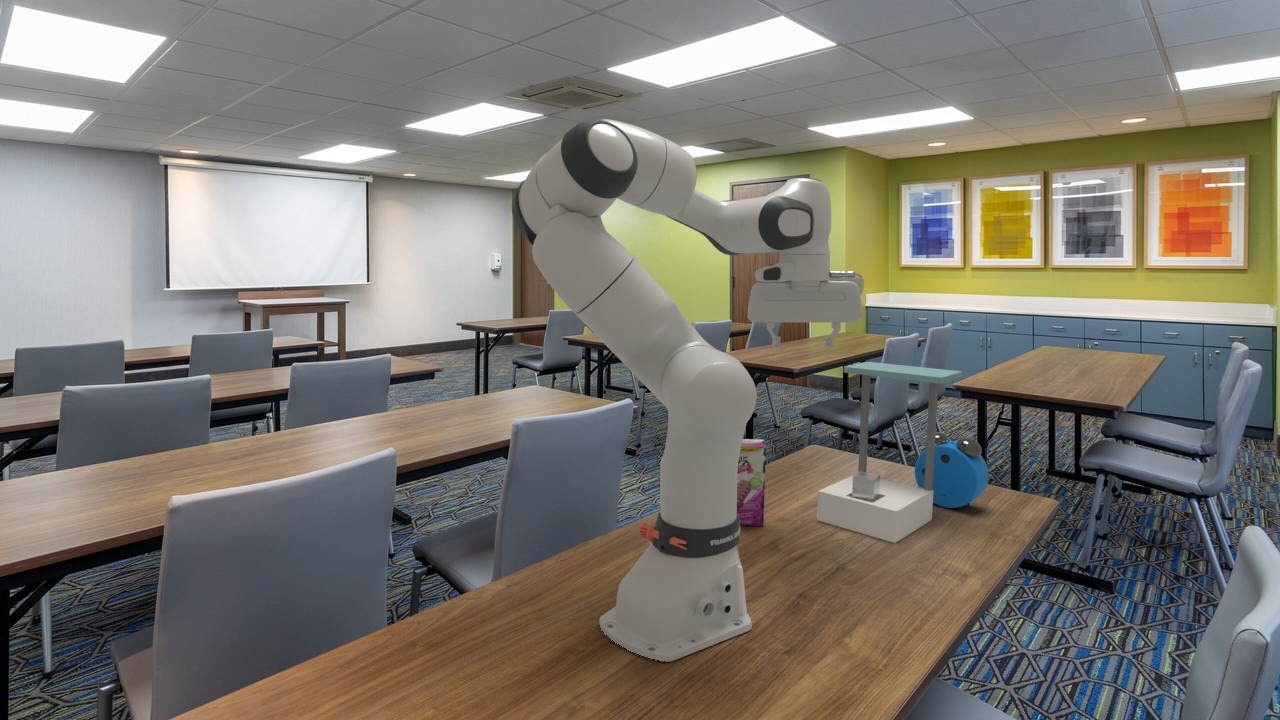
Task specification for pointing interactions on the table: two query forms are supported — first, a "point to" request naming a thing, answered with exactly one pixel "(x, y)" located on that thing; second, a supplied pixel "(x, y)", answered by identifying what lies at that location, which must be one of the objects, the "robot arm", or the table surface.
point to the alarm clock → (955, 471)
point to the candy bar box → (751, 482)
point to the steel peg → (866, 486)
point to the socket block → (897, 502)
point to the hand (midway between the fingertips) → (802, 347)
